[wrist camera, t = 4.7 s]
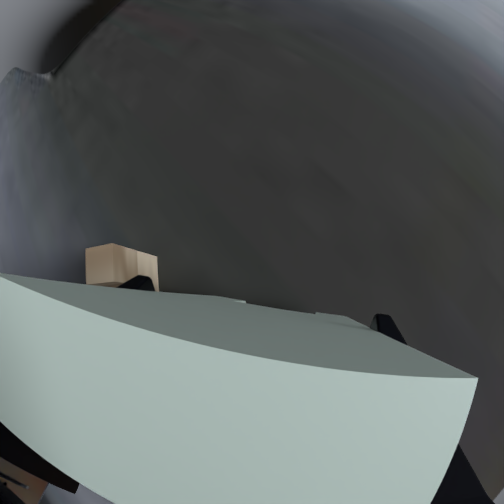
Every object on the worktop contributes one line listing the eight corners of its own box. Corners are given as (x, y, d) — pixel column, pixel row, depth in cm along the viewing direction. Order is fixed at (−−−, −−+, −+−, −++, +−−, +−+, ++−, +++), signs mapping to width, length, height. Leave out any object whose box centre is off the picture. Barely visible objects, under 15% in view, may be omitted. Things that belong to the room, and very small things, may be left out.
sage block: (336, 365, 14) (395, 559, 2) (209, 343, 15) (-13, 408, 3) (345, 316, 14) (478, 378, 2) (217, 295, 16) (-12, 270, 3)
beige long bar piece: (199, 526, 16) (175, 562, 11) (176, 522, 16) (150, 555, 11) (156, 256, 20) (112, 243, 15) (132, 260, 20) (85, 248, 15)
